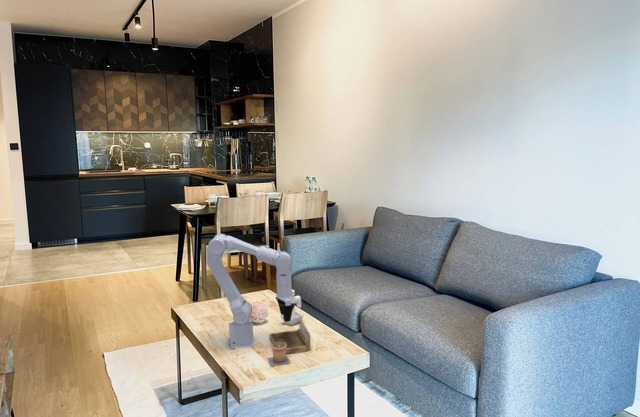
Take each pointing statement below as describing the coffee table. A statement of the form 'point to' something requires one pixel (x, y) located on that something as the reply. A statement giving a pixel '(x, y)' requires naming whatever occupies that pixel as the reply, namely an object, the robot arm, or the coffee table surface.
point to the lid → (304, 332)
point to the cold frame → (291, 341)
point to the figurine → (295, 315)
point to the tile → (278, 363)
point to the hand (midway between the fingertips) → (285, 317)
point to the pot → (279, 352)
